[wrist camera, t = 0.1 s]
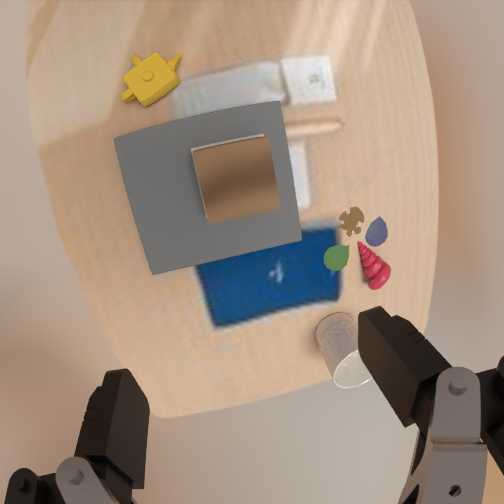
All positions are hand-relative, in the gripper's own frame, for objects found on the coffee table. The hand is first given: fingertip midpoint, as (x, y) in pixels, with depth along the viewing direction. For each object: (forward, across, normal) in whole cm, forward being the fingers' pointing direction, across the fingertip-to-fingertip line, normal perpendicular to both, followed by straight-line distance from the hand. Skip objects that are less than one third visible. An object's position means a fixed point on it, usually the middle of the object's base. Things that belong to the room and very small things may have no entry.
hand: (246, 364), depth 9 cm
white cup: (+29, -14, +25) cm, 41 cm away
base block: (+28, -3, -2) cm, 28 cm away
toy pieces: (+30, -19, +12) cm, 37 cm away
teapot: (+29, +4, -16) cm, 34 cm away
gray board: (+29, 0, -1) cm, 29 cm away
